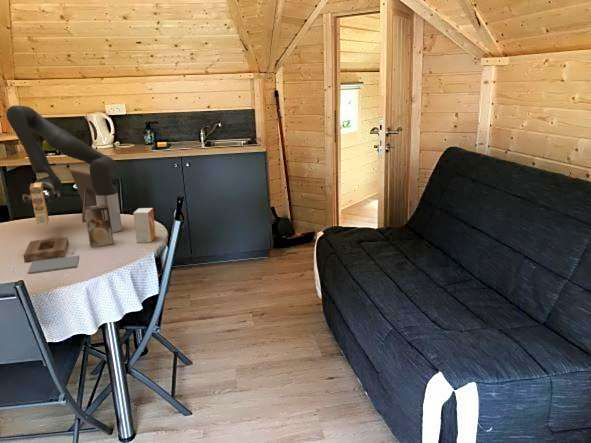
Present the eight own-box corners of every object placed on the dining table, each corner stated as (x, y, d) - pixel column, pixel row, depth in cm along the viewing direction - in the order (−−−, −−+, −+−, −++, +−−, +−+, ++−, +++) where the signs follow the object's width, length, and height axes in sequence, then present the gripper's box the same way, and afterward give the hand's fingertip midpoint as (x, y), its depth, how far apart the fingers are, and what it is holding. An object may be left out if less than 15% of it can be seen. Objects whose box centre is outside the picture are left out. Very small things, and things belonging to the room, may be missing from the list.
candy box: (48, 224, 185) (41, 185, 181) (36, 226, 183) (29, 187, 179) (49, 219, 193) (42, 182, 188) (37, 220, 191) (30, 183, 187)
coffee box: (112, 240, 205) (107, 203, 201) (114, 244, 200) (109, 206, 196) (89, 243, 201) (83, 206, 197) (90, 247, 196) (84, 209, 191)
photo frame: (95, 211, 254) (87, 164, 247) (116, 217, 241) (109, 168, 233) (67, 217, 244) (58, 168, 237) (87, 224, 230) (79, 173, 223)
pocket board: (68, 243, 202) (67, 236, 201) (65, 257, 185) (64, 249, 185) (31, 248, 197) (30, 241, 196) (24, 262, 181) (23, 254, 180)
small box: (151, 242, 201) (148, 212, 197) (136, 242, 201) (132, 212, 197) (156, 236, 209) (153, 207, 205) (141, 237, 209) (138, 208, 205)
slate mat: (78, 256, 185) (78, 255, 185) (77, 267, 175) (76, 265, 174) (32, 262, 180) (32, 261, 180) (27, 274, 169) (27, 272, 169)
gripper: (22, 185, 196) (15, 193, 181) (61, 181, 201) (57, 189, 186) (26, 202, 198) (19, 212, 183) (64, 199, 203) (60, 208, 188)
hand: (38, 200), depth 184 cm, fingers closed on candy box, 4 cm apart
